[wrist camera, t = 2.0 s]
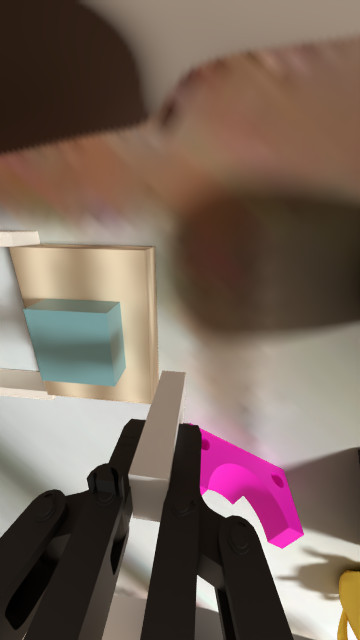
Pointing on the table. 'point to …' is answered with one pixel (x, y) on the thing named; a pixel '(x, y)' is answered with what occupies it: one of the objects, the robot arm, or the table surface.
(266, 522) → the magenta notched bracket
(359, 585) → the teapot
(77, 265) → the plate
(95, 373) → the teal rectangular block
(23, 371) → the box
